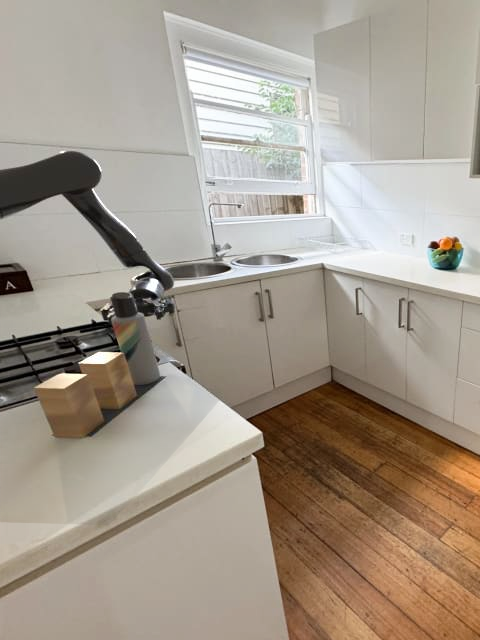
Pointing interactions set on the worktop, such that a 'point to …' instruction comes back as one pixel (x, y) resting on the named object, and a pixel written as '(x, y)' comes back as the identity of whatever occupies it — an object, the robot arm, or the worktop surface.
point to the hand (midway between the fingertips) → (135, 318)
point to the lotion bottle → (134, 339)
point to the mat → (112, 413)
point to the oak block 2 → (109, 379)
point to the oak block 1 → (70, 405)
